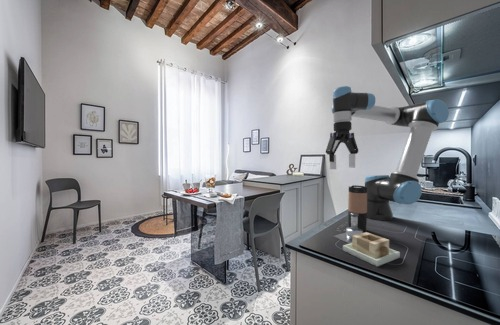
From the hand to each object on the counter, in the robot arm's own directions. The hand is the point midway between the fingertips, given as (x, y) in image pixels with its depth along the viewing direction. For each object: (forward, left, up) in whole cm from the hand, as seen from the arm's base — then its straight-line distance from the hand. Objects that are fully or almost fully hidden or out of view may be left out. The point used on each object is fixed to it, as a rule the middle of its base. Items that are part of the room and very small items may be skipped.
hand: (342, 168), depth 96 cm
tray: (+12, +21, -28) cm, 38 cm away
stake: (+6, +10, -28) cm, 31 cm away
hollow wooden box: (+12, +21, -28) cm, 37 cm away
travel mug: (-5, +4, -29) cm, 29 cm away
